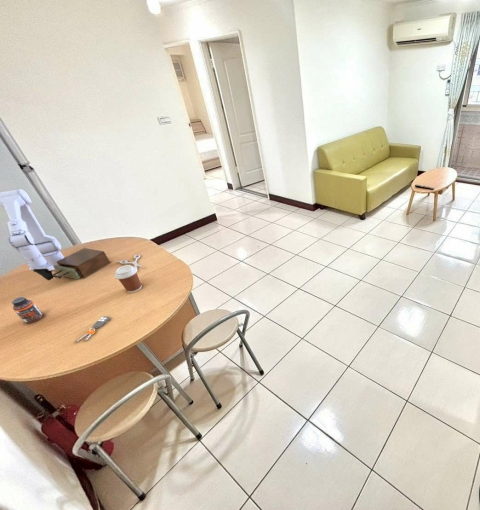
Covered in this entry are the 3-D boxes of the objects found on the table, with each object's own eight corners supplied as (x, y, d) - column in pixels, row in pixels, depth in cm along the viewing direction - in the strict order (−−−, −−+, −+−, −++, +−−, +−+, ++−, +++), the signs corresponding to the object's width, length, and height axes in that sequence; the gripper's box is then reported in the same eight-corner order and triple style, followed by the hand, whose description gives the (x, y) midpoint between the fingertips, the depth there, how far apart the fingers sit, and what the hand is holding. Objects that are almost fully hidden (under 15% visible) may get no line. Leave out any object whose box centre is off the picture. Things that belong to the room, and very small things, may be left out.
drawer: (68, 284, 139) (61, 275, 136) (49, 280, 142) (42, 271, 138) (102, 264, 154) (97, 256, 150) (84, 261, 156) (79, 252, 153)
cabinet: (84, 277, 145) (77, 265, 141) (64, 273, 148) (56, 261, 144) (110, 262, 157) (103, 251, 153) (91, 259, 160) (84, 247, 156)
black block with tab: (70, 269, 148) (65, 262, 145) (75, 267, 150) (70, 259, 147) (82, 272, 146) (77, 264, 143) (87, 269, 148) (83, 261, 145)
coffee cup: (119, 291, 136) (108, 271, 129) (137, 280, 143) (127, 262, 136) (131, 296, 133) (119, 276, 126) (148, 285, 140) (139, 266, 133)
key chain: (103, 318, 121) (101, 315, 120) (110, 318, 121) (109, 316, 120) (76, 341, 110) (74, 339, 109) (85, 342, 110) (83, 340, 109)
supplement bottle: (27, 325, 117) (10, 306, 111) (23, 320, 120) (5, 301, 114) (45, 317, 121) (29, 298, 115) (41, 312, 124) (25, 293, 118)
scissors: (137, 253, 164) (151, 264, 153) (138, 254, 164) (152, 266, 154) (117, 261, 157) (130, 273, 146) (117, 262, 157) (131, 275, 147)
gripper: (12, 259, 129) (30, 281, 136) (34, 263, 126) (52, 286, 133) (30, 251, 135) (46, 273, 142) (51, 255, 131) (67, 277, 139)
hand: (50, 279), depth 138 cm, fingers closed, pressing on drawer
